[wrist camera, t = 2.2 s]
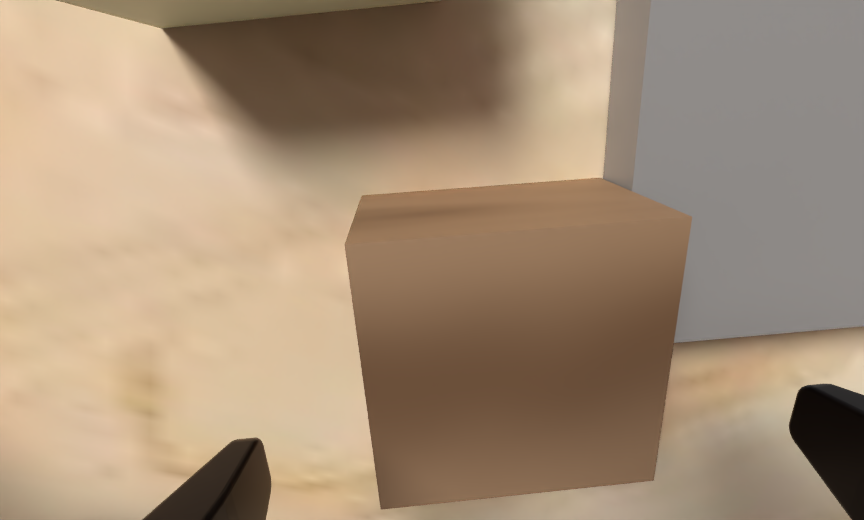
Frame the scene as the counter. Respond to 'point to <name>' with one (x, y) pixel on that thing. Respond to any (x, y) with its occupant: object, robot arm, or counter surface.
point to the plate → (748, 154)
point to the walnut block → (514, 336)
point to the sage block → (222, 9)
